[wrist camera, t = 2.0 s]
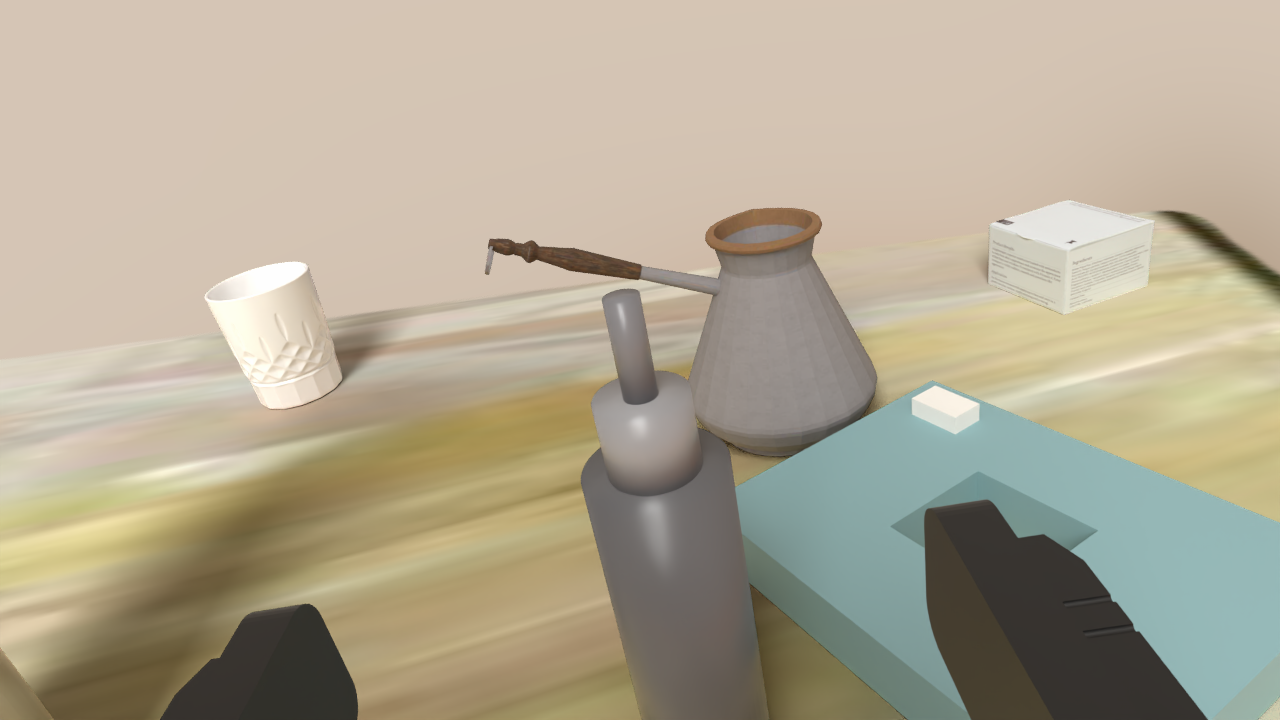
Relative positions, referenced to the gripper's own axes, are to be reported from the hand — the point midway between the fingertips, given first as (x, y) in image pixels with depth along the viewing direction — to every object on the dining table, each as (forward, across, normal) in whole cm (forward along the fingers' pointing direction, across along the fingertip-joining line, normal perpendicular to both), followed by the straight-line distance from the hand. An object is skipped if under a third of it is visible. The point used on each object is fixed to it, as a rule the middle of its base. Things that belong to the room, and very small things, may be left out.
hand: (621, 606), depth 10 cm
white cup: (+51, +31, +19) cm, 63 cm away
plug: (+11, 0, +20) cm, 23 cm away
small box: (+47, -30, +20) cm, 59 cm away
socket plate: (+19, -13, +20) cm, 30 cm away
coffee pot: (+34, -2, +20) cm, 40 cm away
